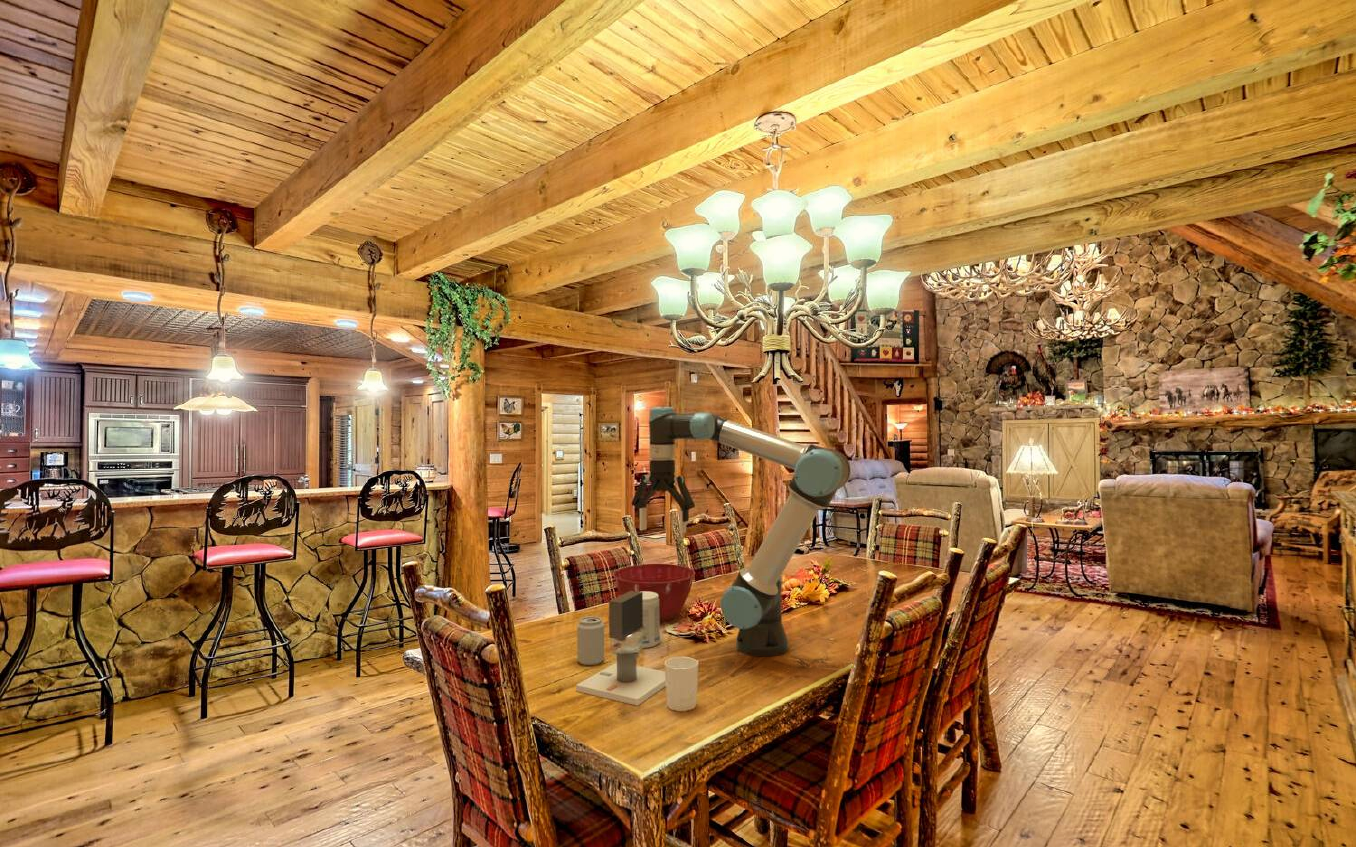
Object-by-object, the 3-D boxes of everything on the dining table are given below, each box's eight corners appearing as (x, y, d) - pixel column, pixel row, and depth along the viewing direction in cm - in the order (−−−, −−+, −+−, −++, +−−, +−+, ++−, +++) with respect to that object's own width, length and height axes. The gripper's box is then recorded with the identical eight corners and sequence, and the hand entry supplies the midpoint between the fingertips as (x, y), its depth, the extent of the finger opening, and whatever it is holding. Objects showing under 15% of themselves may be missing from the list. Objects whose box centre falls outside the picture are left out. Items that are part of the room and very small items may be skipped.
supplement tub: (647, 636, 198) (647, 589, 198) (666, 644, 191) (665, 595, 191) (621, 643, 192) (621, 594, 192) (640, 651, 185) (639, 600, 185)
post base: (675, 679, 163) (674, 644, 163) (637, 705, 148) (637, 667, 148) (617, 667, 172) (617, 634, 172) (576, 691, 156) (576, 654, 156)
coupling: (623, 639, 167) (623, 590, 167) (650, 643, 163) (650, 593, 164) (599, 654, 156) (599, 601, 156) (628, 658, 152) (627, 604, 153)
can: (608, 658, 179) (608, 616, 179) (596, 668, 172) (596, 623, 172) (585, 655, 181) (584, 613, 181) (572, 665, 174) (572, 621, 174)
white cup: (674, 715, 142) (674, 671, 142) (659, 702, 149) (658, 660, 149) (704, 708, 146) (704, 664, 146) (688, 696, 153) (688, 654, 153)
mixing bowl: (685, 631, 203) (685, 583, 203) (601, 625, 210) (601, 579, 210) (702, 607, 230) (702, 565, 231) (627, 603, 237) (627, 562, 237)
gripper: (620, 459, 190) (620, 530, 189) (693, 460, 177) (694, 536, 177) (633, 458, 196) (634, 526, 196) (705, 459, 184) (706, 532, 184)
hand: (662, 531), depth 186 cm, fingers open, 13 cm apart
